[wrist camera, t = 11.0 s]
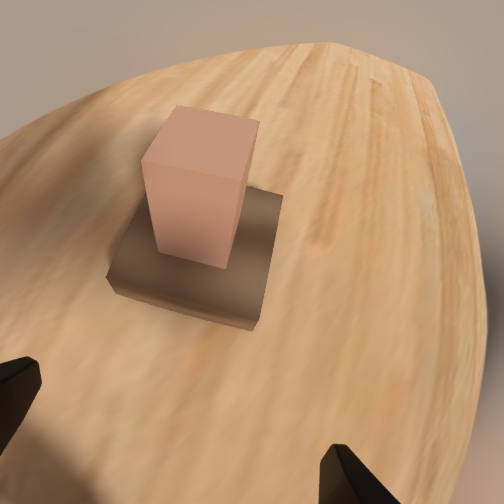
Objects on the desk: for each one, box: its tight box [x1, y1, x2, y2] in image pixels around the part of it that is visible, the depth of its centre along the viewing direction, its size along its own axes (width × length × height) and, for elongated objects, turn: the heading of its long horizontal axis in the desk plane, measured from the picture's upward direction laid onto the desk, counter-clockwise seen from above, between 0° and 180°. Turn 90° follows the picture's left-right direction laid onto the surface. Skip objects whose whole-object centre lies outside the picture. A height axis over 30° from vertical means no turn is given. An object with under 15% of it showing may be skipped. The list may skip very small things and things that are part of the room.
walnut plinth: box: [106, 186, 283, 331], centre depth 24 cm, size 11×11×3 cm
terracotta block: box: [141, 106, 260, 269], centre depth 19 cm, size 5×5×9 cm
